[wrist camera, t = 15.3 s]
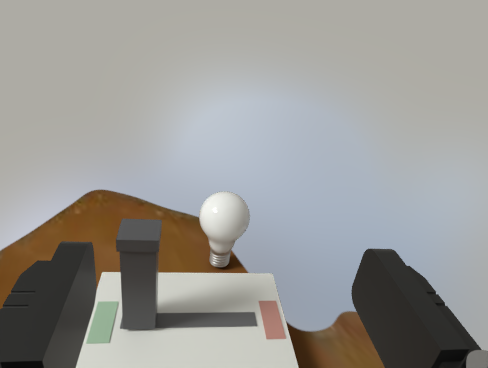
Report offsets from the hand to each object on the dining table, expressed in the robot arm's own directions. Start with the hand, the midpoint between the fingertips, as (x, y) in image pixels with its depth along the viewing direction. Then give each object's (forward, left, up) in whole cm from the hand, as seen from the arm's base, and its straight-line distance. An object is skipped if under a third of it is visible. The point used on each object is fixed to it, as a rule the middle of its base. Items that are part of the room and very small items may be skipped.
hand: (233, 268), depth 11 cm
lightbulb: (-4, -30, -26) cm, 40 cm away
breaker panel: (0, -18, -26) cm, 32 cm away
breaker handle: (+5, -18, -23) cm, 29 cm away
